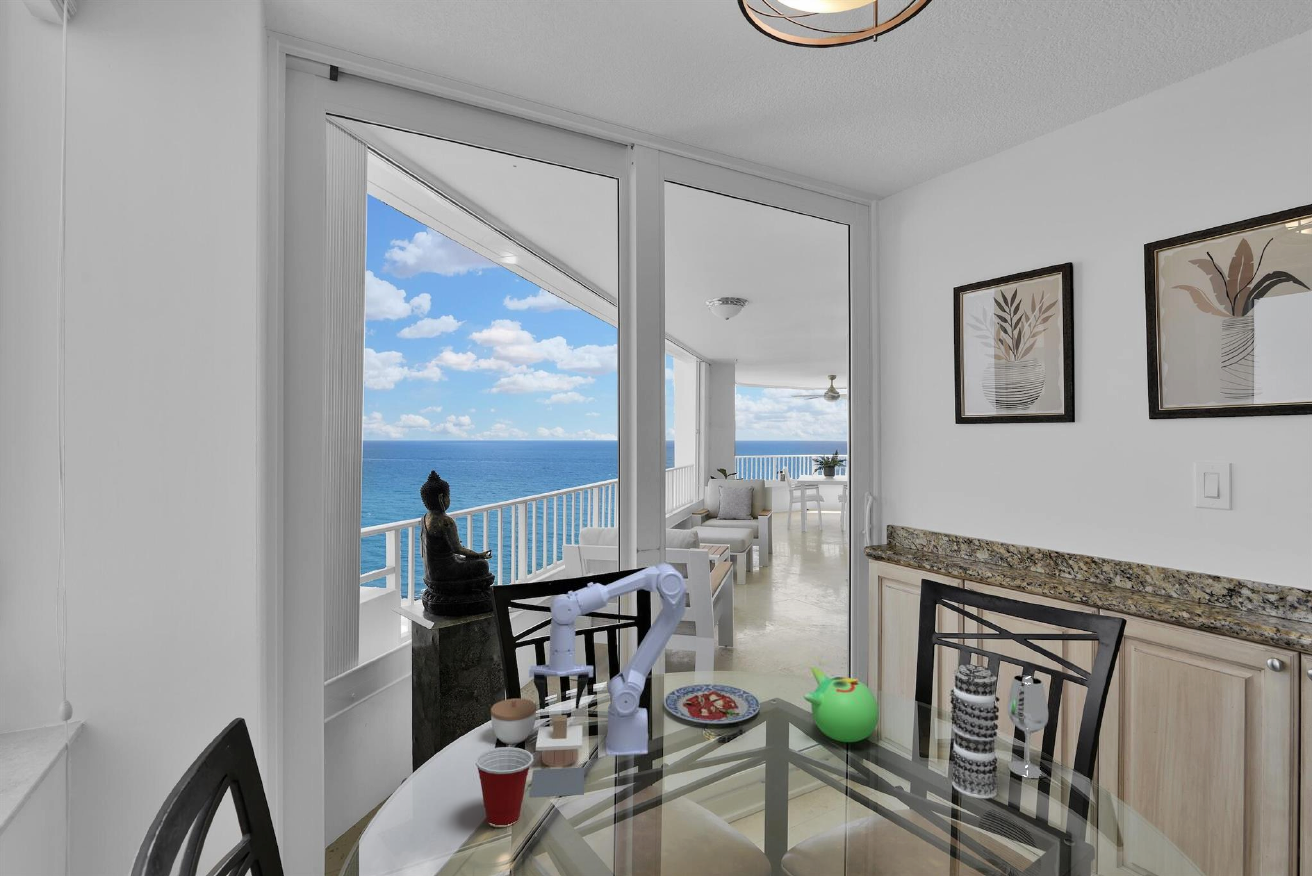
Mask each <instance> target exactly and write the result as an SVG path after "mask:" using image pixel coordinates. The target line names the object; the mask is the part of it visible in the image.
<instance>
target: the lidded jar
mask: <svg viewBox="0 0 1312 876" xmlns="http://www.w3.org/2000/svg"><path fill="white" fill-rule="evenodd" d="M536 712H537V704H536V703H535V702H534V701H533V700H531V699H527V698H509V699H503V700H500V701H498V702H496V703H495V704H493V705H492V707H490V715H491V716H490V717H491V721H490V722H491V727H492V731H493V733H494V734H495V737H496V738H497V739H498V740H499V741H500V742H502V743H503V744H506V745H507V744H509V745H510V744H511V745H513V744H514V745H515V744H519V743H522V742H524V741H526V740H527V738H528V737H530V735H531V734H532V732H533V730H534V727H535V724H536V718H537V713H536ZM525 739H526V740H525Z"/></svg>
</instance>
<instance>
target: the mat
mask: <svg viewBox="0 0 1312 876" xmlns="http://www.w3.org/2000/svg"><path fill="white" fill-rule="evenodd" d="M531 777H532V778H531V782H530V788H529V795H528V798H529V797H530V798H545V797H549V798H550V797H565V796H566V797H567V796H582V795H585V766H584V767H567V768H565V767H564V768H563V767H562V768H545V769H543V768H542V769H540V768H539V769H533V771H532V775H531Z"/></svg>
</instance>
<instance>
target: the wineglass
mask: <svg viewBox="0 0 1312 876" xmlns="http://www.w3.org/2000/svg"><path fill="white" fill-rule="evenodd" d="M1012 678H1013V679H1012V682H1011V686H1010V690H1009V694H1008V699H1007V714H1008V718H1009V719H1010V721H1011V722H1012V723H1013V725H1015V726H1016V727H1017V728H1018V729H1019V730H1021V731H1023V733H1024V737H1025V738H1024V739H1025V760H1014V761H1010V762H1009V763H1008V764H1007V767H1008V769H1009V771H1011V772H1012V773H1014V774H1016V775H1018V776H1021V777H1023V778H1027V779H1031V778H1034V777H1035V778H1038V776H1041V775H1040V774H1042V773H1041V770H1040V769H1039V768H1038V766H1039V765H1038V766H1036V765H1037V764H1036V765H1034V764H1035V763H1033V764H1031V763H1032V762H1031V761H1030V744H1031V743H1030V742H1031V741H1030V738H1031V734H1033V733H1037V732H1039V731H1041V730H1043V729H1044V728H1045V727H1046V726H1047V724H1048V721H1049V708H1048V701H1047V697H1046V696H1047V695H1046V693H1045V688H1044V687H1045V686H1044V683H1043V681H1042V680H1041V679H1039V678H1038V677H1034V676H1032V675H1031V676H1030V675H1025V674H1024V675H1022V674H1019V675H1015V676H1013V677H1012ZM1023 761H1025V762H1023ZM1033 776H1034V777H1033Z"/></svg>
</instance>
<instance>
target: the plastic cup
mask: <svg viewBox="0 0 1312 876" xmlns="http://www.w3.org/2000/svg"><path fill="white" fill-rule="evenodd" d="M533 762H534V754H532V753H531V752H529V751H528V750H527V749H526V750H525V749H523V748H519V747H511V746H507V747H504V746H502V747H494V748H490V749H487V750H485V751H483V752H480V753H479V754H478V755H477V756H476V757H475V766H476V767H477V770H478V771H477V772H478V775H479V780H480V786H481V787H480V788H481V795H482V801H483V808H484V809H485V816H486V817H485V818H486V822H487V821H488V822H489V823H492V824H495V825H508V824H511V823H513V822H515V821H517V820H518V821H519V819H518V818H520V816H521V809H522V803H523V799H524V793H525V788H526V785H527V779H528V778H527V777H528V774H529V771H530V767H531V765H532V764H533ZM518 821H517V822H518ZM488 822H487V823H488Z"/></svg>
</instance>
